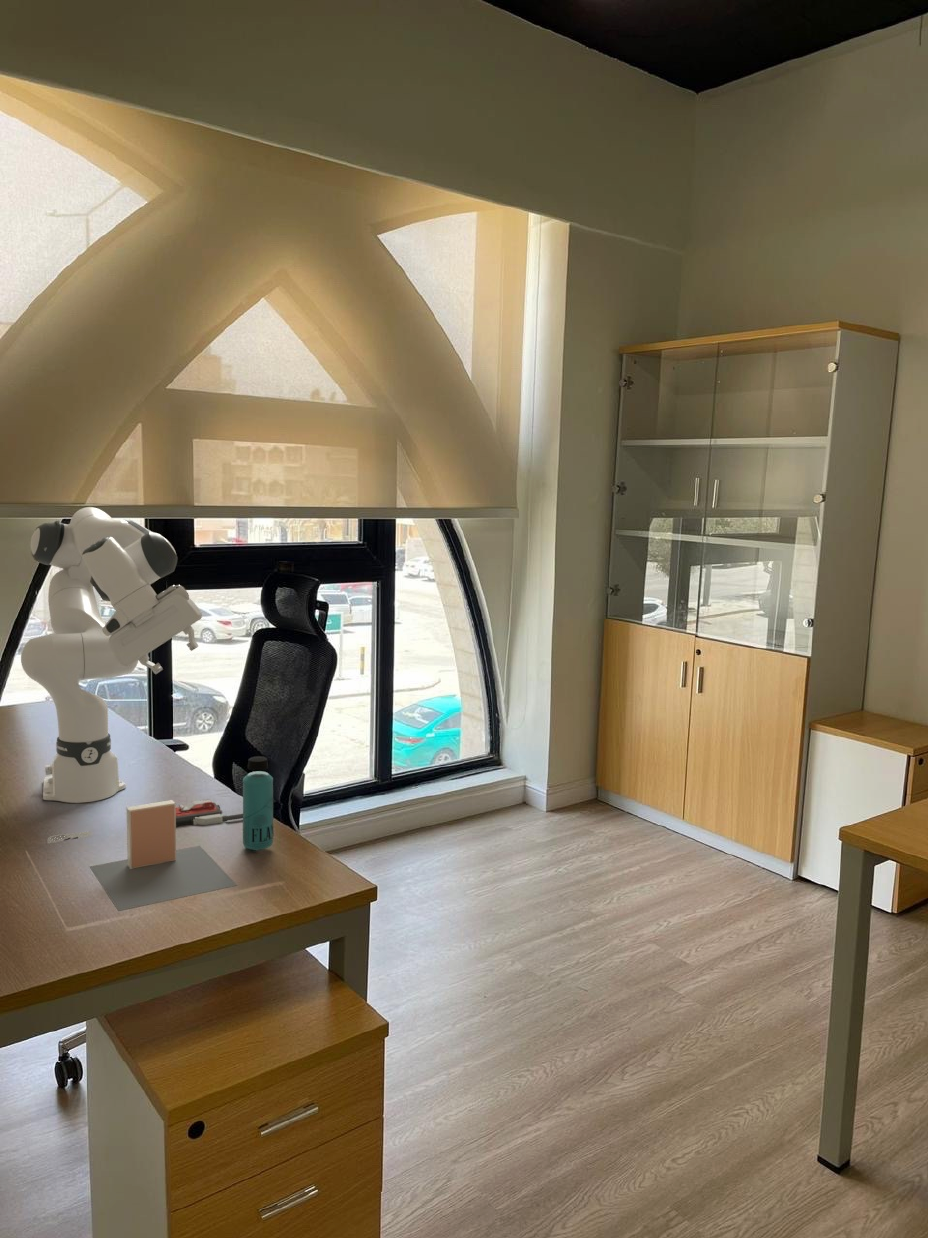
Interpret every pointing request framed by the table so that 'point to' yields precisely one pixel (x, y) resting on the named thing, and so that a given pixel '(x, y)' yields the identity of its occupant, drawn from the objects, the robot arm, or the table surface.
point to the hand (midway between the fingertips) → (177, 660)
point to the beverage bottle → (258, 805)
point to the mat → (161, 879)
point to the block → (151, 834)
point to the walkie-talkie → (202, 814)
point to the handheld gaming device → (68, 836)
